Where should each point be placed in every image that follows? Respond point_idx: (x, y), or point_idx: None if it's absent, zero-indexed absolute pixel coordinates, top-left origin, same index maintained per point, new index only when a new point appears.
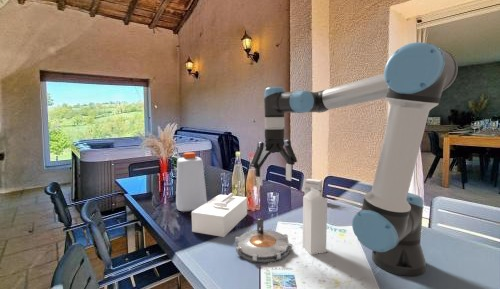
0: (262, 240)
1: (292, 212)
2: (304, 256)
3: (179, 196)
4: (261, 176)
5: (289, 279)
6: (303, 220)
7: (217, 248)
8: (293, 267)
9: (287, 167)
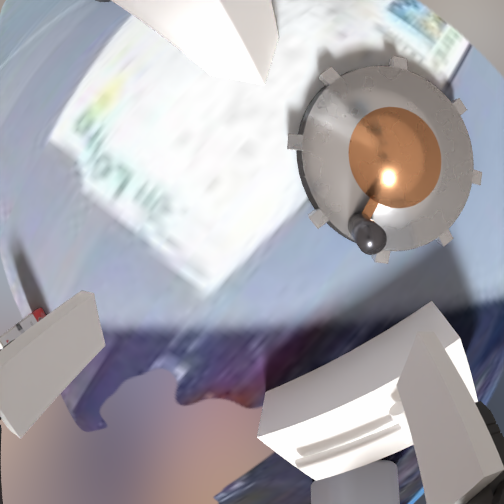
0: (398, 159)
1: (126, 316)
2: (302, 42)
3: (398, 492)
4: (461, 395)
5: (406, 7)
6: (249, 46)
7: (480, 248)
8: (369, 26)
9: (27, 397)
